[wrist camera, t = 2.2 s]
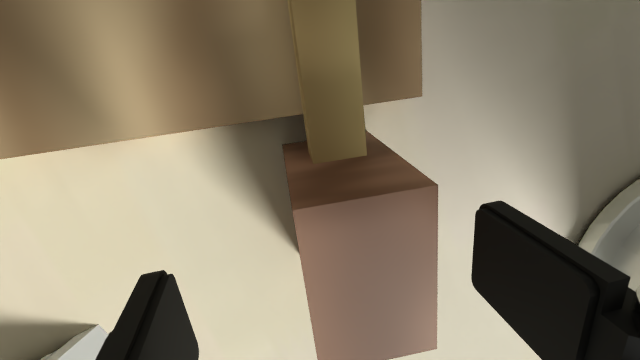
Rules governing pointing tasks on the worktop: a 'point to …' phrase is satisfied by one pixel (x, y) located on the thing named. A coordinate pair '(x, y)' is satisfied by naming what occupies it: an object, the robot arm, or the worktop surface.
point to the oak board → (173, 66)
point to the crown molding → (81, 346)
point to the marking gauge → (356, 205)
